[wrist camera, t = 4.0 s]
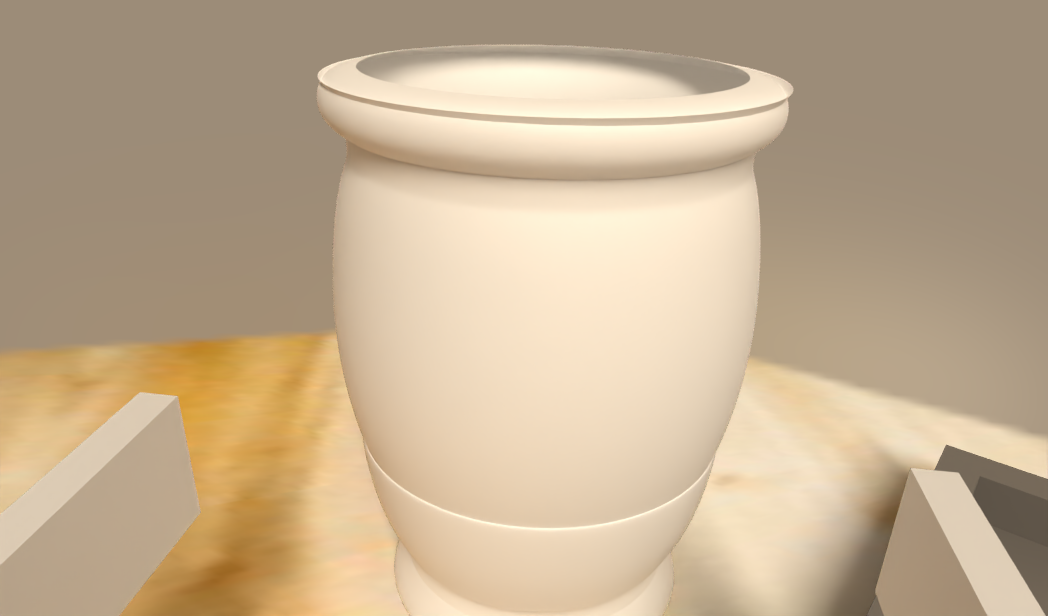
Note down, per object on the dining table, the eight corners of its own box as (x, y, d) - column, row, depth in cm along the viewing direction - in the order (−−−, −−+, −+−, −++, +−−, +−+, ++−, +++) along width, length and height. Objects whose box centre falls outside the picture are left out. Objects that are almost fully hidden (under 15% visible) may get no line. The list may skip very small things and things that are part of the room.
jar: (696, 482, 28) (760, 49, 21) (723, 748, 19) (848, 123, 12) (412, 452, 29) (392, 35, 23) (304, 686, 20) (219, 92, 13)
